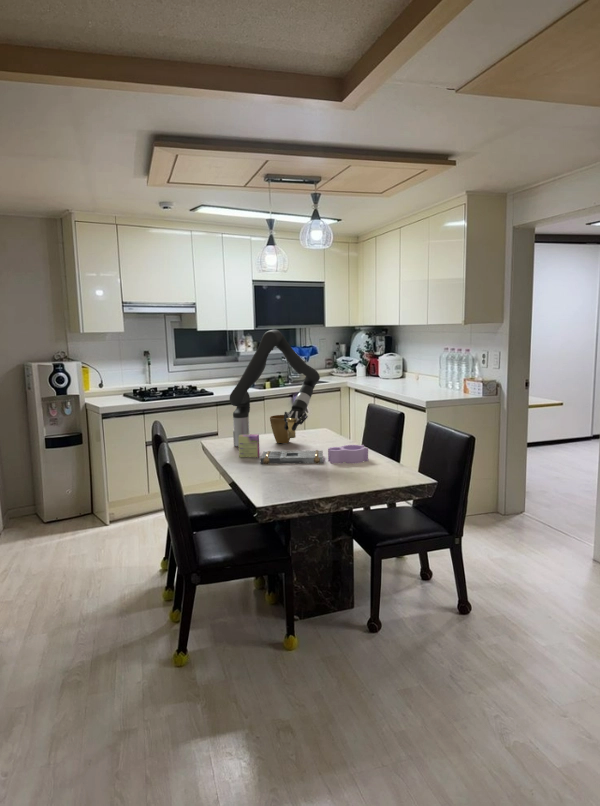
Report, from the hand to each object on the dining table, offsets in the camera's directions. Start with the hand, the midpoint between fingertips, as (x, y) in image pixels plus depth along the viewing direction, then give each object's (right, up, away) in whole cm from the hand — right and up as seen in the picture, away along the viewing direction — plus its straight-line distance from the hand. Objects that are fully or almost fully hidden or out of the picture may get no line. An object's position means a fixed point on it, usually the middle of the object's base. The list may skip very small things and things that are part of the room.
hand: (289, 429), depth 268 cm
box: (-22, -16, +14) cm, 31 cm away
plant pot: (-5, -10, +44) cm, 45 cm away
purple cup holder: (+30, -16, 0) cm, 35 cm away
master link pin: (+1, -4, +2) cm, 5 cm away
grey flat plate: (+1, -16, +4) cm, 17 cm away
